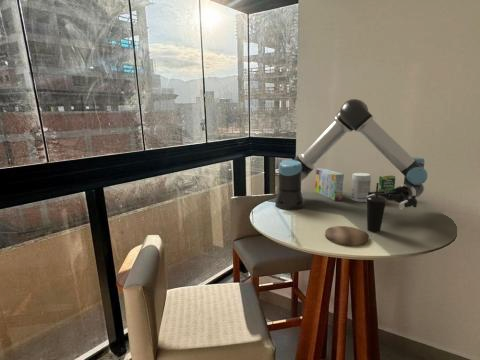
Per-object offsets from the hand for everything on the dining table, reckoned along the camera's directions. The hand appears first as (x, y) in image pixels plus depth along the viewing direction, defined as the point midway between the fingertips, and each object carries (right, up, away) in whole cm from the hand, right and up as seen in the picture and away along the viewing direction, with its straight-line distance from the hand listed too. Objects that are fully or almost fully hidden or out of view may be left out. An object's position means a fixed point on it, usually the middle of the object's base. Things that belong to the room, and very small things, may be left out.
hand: (382, 202), depth 121 cm
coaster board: (-17, -13, -7) cm, 23 cm away
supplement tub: (+8, -2, +43) cm, 44 cm away
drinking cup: (-4, -11, 0) cm, 12 cm away
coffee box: (+23, -1, +44) cm, 50 cm away
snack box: (-7, 0, +52) cm, 53 cm away
